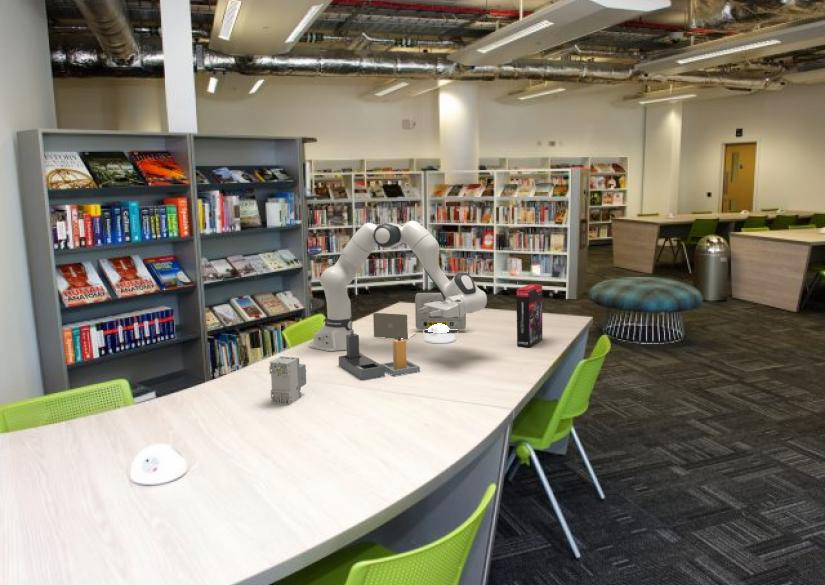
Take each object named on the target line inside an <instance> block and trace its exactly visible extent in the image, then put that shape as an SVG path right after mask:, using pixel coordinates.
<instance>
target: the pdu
mask: <svg viewBox="0 0 825 585" xmlns="http://www.w3.org/2000/svg"><path fill="white" fill-rule="evenodd" d="M381 364H382V363H378V361H375V360H373V359H372V358H370V357H368V356H367V355H364V354H362V353H361V352H359V358H355V359H347V354H345V355H340V356H339V355H338V366H339V367H340V366H341V368H342V369H343V370H345V369H346V370H345V371H347V372H348V371H349V372H348V373H350V374H351V373H352V374H351V375H353V376H354V375H355V377H356V378H358V379H359V378H360V379H359V380H361V381H366V379H367V380H372V379H371V378H373V379H377V378H376V377H378V378H382V377H381V376H384V377H385V376H386V375H385V374H386V372H385V367H384V366H382V365H381Z"/></svg>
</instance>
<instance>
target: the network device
mask: <svg viewBox="0 0 825 585" xmlns="http://www.w3.org/2000/svg"><path fill="white" fill-rule="evenodd" d="M436 301H440V302H444V299H443V297H442V294H441V292H417V293H416V295H415V297H414V308H415V309H414V310H415V316H414V318H415V328H416V329H417V330H424V329H428V328H429V327H430V326H432V325H434V324H437V323H442V324H445V325H447V326H448V327H449V328H450V329H458V330H457V331H456V332H457V333H458V332H459V333H460V330H465V329H466V328H467V327H466V326H467V313H465V314H464V316H463V317H451V318H445V317H442V316H432V317H431V316H429V313H428V312H424V313H419V312H418V309H421V308H423V307H424V304H425V303H430V302H436Z"/></svg>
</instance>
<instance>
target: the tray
mask: <svg viewBox="0 0 825 585" xmlns="http://www.w3.org/2000/svg"><path fill="white" fill-rule="evenodd" d="M406 363H407V368H404V369H398V370H395V369H394V365H393V361H390V362H384V363H380V364H381V365H382V366H384V367H385V371H387V372H388V373H387V372H386V373H387V374H389V373H390V374H392V375H393V376H392V375H391V376H392V377H396V376H395V375H399V376H402V375H401V374H404V375H406V374H405V373H410V374H413V373H412V372H415V373H418V372H417V371H420V372H421V366H420V365H418V364H416V363H414V362H411V361H410V360H407V359H406ZM390 374H389V375H390Z"/></svg>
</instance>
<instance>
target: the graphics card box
mask: <svg viewBox="0 0 825 585" xmlns="http://www.w3.org/2000/svg"><path fill="white" fill-rule="evenodd" d="M542 340H543V285H542V284H534V283H529V284H528V285H526V286H522V287H520V288H517V289H516V341H517V342H516V346H517V347H522V348H531V347H532V346H534V345H535V344H537V343H539V342H541V341H542Z"/></svg>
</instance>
